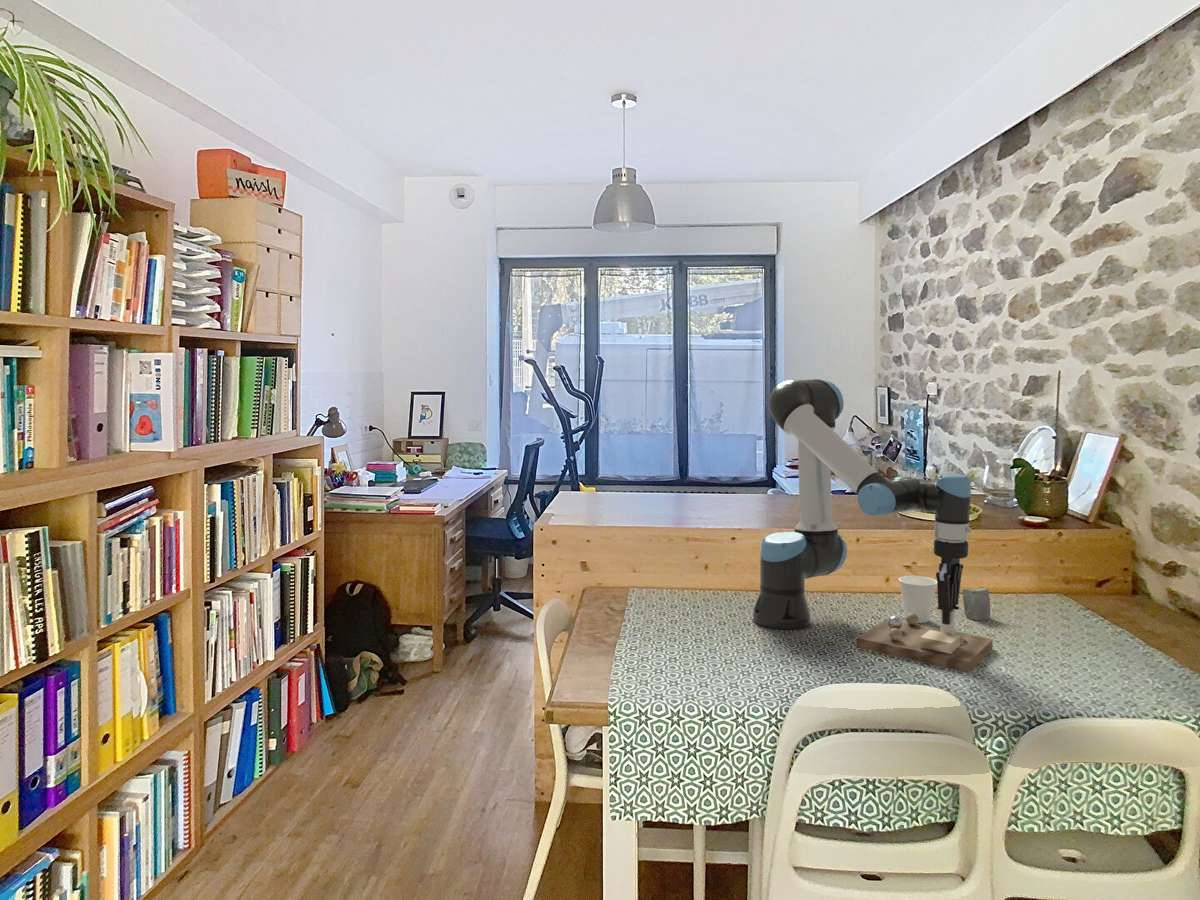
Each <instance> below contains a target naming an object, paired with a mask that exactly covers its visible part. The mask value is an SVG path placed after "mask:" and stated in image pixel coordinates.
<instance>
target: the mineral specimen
mask: <svg viewBox="0 0 1200 900" xmlns="http://www.w3.org/2000/svg"><path fill="white" fill-rule="evenodd" d="M990 600H991V598H990V591H989V588H986V587H985V588H984V587H983V588H982V587H979V588H977V587H976V588H975V587H974V588H963V589H962V602H963V607H964V609H963V610H964V617H967V618H969V619H971V620H972V621H976V622H980V621H984V620H990V619H991V601H990Z"/></svg>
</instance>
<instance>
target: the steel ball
mask: <svg viewBox="0 0 1200 900" xmlns="http://www.w3.org/2000/svg"><path fill="white" fill-rule="evenodd" d="M887 619H888V626H889V628H890V629H893V628H897V629H900V628H901V627H902V622H903V620H902V619H901V617H899V616H897V615H892V616H889V618H887Z"/></svg>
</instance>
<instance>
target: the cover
mask: <svg viewBox="0 0 1200 900" xmlns="http://www.w3.org/2000/svg"><path fill="white" fill-rule="evenodd" d="M959 646H960V636H959V635H954V634H949V633H944V632H939V631H934V630H929V631H928V632H926V633H925V634H924V635H922V636H921V637H920V648H925V649H930V650H935V651H939V652H944V653H949V654H951V653H953V652H954V651H955V650H956V649H957V648H958V647H959Z"/></svg>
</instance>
